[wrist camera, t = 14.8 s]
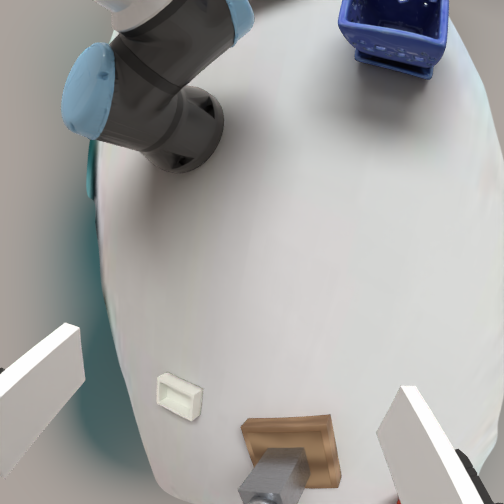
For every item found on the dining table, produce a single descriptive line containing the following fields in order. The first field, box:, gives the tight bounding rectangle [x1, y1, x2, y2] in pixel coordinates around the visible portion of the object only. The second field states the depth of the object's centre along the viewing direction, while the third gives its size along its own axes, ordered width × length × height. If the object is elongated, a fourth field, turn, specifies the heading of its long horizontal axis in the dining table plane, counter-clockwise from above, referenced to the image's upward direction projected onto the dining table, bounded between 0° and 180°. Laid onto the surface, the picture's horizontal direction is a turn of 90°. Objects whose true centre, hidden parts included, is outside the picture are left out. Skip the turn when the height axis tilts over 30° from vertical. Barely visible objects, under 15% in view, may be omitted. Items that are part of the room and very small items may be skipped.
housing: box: [238, 447, 311, 504], centre depth 34 cm, size 6×6×14 cm
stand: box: [241, 415, 341, 488], centre depth 41 cm, size 14×14×3 cm
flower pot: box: [338, 0, 449, 80], centre depth 28 cm, size 13×13×12 cm
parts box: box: [157, 372, 203, 421], centre depth 50 cm, size 8×6×3 cm
